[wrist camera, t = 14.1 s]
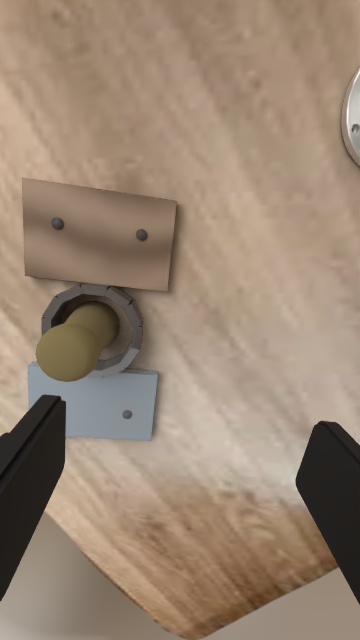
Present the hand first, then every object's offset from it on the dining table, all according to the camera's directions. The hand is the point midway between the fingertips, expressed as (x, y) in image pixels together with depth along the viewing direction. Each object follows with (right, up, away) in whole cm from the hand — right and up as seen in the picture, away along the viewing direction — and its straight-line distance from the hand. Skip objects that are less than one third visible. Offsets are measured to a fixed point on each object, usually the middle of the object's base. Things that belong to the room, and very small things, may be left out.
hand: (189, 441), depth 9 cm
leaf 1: (-10, +11, +20) cm, 25 cm away
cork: (-11, +4, +22) cm, 25 cm away
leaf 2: (-12, -4, +24) cm, 27 cm away
